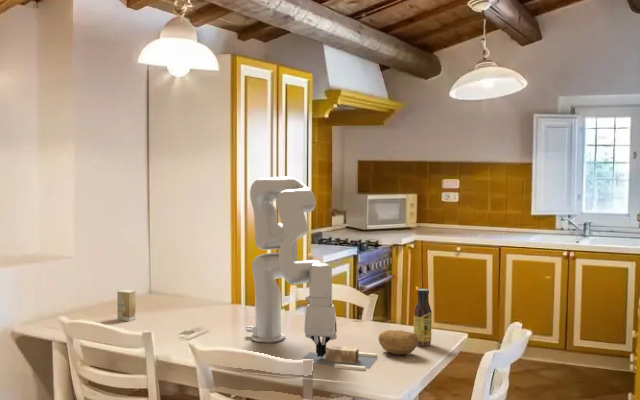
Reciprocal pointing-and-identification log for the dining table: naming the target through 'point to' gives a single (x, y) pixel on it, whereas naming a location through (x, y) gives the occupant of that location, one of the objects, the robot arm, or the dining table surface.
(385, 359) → the dining table surface
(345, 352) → the oak block
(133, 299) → the skincare box
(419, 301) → the sauce bottle
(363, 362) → the plate
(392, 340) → the potato
